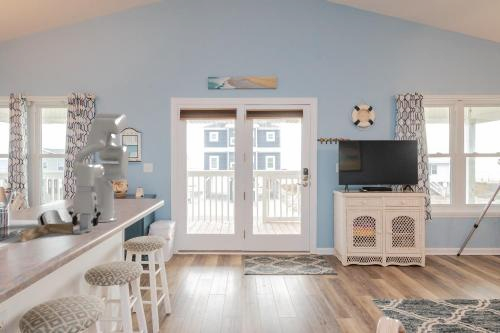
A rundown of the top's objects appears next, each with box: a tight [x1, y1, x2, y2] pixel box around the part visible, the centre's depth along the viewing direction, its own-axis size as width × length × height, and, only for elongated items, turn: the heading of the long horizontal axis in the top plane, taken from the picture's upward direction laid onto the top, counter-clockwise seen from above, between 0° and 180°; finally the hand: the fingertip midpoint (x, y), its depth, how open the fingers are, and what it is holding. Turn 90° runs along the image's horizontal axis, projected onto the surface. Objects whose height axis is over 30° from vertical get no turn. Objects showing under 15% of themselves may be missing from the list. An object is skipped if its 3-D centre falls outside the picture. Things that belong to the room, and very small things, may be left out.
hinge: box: [36, 209, 67, 227], centre depth 164 cm, size 17×5×10 cm, turn 9°
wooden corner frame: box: [20, 223, 74, 243], centre depth 147 cm, size 18×12×4 cm, turn 178°
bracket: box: [73, 214, 92, 235], centre depth 157 cm, size 8×4×8 cm, turn 178°
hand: (85, 225), depth 159 cm, fingers open, 9 cm apart
